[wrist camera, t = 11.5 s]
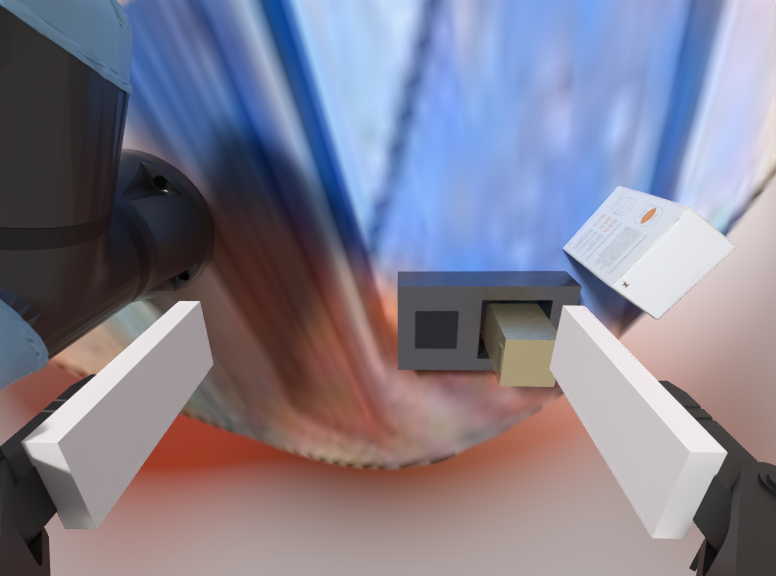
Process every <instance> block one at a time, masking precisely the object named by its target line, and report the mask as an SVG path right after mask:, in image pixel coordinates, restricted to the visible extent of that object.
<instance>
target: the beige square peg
mask: <svg viewBox="0 0 776 576" xmlns="http://www.w3.org/2000/svg"><path fill="white" fill-rule="evenodd" d="M480 333H481V336H482V339H483V341H484V344H485V347H486V350H487V353H488V355H489V358H490V361H491V364H492V367H493V370H494V372H495V375H496V378H497V381H498V384H499V386H528V387H554V385H555V380H556V379H555V377H554V375H553V374H552V372H551V370H550V369H549V368H550V363H551V359H552V354H553V349H554V345H555V340H556V336H557V330H556V329H555V327H554V326H553V324H552V323H551V322H550V320H549V319H548V317H547V316H546V315H545V313H544V312H543V310H542V309H541V308H540V306H539V305H538V303H537V302H536V301H535V300H483V308H482V317H481V326H480Z"/></svg>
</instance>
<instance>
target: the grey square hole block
mask: <svg viewBox="0 0 776 576" xmlns="http://www.w3.org/2000/svg"><path fill="white" fill-rule="evenodd" d="M580 291H581V285H580V284H579V283H577V282H576V281H575V280H574V279H573V278H572V277H571V276H570V275H569V274H568V273H567V272H566V271H503V272H398V370H493V367H492V364H491V361H490V358H489V355H488V353H487V350H486V347H485V344H484V341H483V339H479V332H480V321H481V310H482V300H538V302H537V303H538V305H539V306H540V308H541V309H542V310H543V312H544V313H545V315H546V316H547V317H548V319H549V320H550V322H551V323H552V324H553V326H554V327H555V329H556V330H557V331H558V326H559V322H560V317H561V312H562V308H563V305H564V306H578V301H579V296H580Z"/></svg>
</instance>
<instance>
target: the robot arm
mask: <svg viewBox="0 0 776 576" xmlns="http://www.w3.org/2000/svg"><path fill="white" fill-rule="evenodd" d="M132 45H133V31H132V26H131V23H130V20H129V18H128V16H127V14H126V12H125V11H124V9H123V8H122V6H121V5H120V4H119V3H118V2H117V0H0V391H1V390H3V389H4V388H6V387H8V386H9V385H11V384H12V383H14V382H16V381H18V380H20V379H22V378H23V377H25V376H27V375H29V374H30V373H34V372H37V371H39V370H40V369H42V368H43V367H44V366H45V365H46V364H47V361H49V360H50V359H51V358H53V357H54V356H56V355H57V354H59V353H60V352H61V351H63V350H64V349H66V348H67V347H69V346H70V345H71V344H73V343H74V342H76V341H77V340H79V339H80V338H81V337H83V336H84V335H86V334H87V333H89V332H90V331H91V330H93V329H94V328H96V327H97V326H99V325H100V324H101V323H103V322H104V321H106V320H107V319H109V318H110V317H111V316H113V315H114V314H116V313H117V312H119V311H120V310H121V309H123V308H124V307H125V306H127V305H128V304H130V303H131V302H136V301H141V300H146V299H151V298H156V297H161V296H165V295H168V294H171V293H174V292H176V291H178V290H180V289H182V288H183V287H185V286H186V285H187V284H189V283H190V282H191V281H193V280H194V279H195V278H196V277H197V276H198V275H199V274H200V273H201V272H202V271H203V270H204V268H205V267H206V265H207V263H208V262H209V259H210V257H211V254H212V249H213V241H214V234H213V226H212V221H211V217H210V214H209V211H208V209H207V207H206V204H205V202H204V201H203V199H202V197H201V195H200V194H199V192H198V191H197V190H196V188H195V187H194V186H193V184H192V183H191V182H190V181H189V180H188V179H187V178H186V177H185V176H184V175H183V174H182V173H181V172H180V171H178V170H177V169H176V168H174V167H173V166H172V165H170V164H169V163H167V162H165V161H164V160H162V159H160V158H158V157H156V156H153V155H151V154H148V153H145V152H141V151H137V150H131V149H122V142H123V135H124V128H125V121H126V114H127V107H128V100H129V95H132V94H133V87H132V85H131V84H130V71H131V58H132ZM212 366H213V359H212V354H211V350H210V345H209V340H208V336H207V331H206V326H205V322H204V317H203V312H202V308H201V303H200V301H179V302H177V303H176V304H175V305H174V306H173V307H172V308H171V309H170V310H168V311H167V312H166V313H165V314H164V315H163V316H162V317H161V318H159V319H158V320H157V321H156V322H155V323H154V324H153V325H152V326H151V327H149V328H148V329H147V330H146V331H145V332H144V333H143V334H142V335H140V336H139V337H138V338H137V339H136V340H135V341H134V342H133V343H131V344H130V345H129V346H128V347H127V348H126V349H125V350H124V351H123V352H121V353H120V354H119V355H118V356H117V357H116V358H115V359H114V360H112V361H111V362H110V363H109V364H108V365H107V366H106V367H105V368H103V369H102V370H101V371H100V372H99V373H98V374H91V375H90V376H88V377H86V378H84V379H82V380H81V381H79V382H77V383H75V384H73V385H72V386H70V387H69V388H68V389H67V390H66V391H65V392H63V393H62V394H61V395H60V396H59V397H58V398H57V399H56V401H53V402H52V403H51V404H50V405H48V406H47V407H46V408H45V409H44V411H43V412H41V413H39V414H38V415H37V416H35V417H34V418H33V419H32V420H31V421H30V422H28V423H27V424H26V425H25V426H24V427H23V428H21V429H20V430H19V431H18V432H17V433H16V434H14V436H12V437H11V438H10V439H9V440H7V441H6V442H5V443H4V444H3V445H2V446H0V576H50V556H49V555H50V553H49V536H48V534H47V532H46V530H45V528H44V526H45V525H46V524H47V523H48V521H49V520H50V519H51V518H52V517H53V515H54V514H55V513H56V512H57V514H58V516H59V518H60V520H61V522H62V524H63V526H64V528H65V529H98V527H99V526H100V524H101V523H102V522H103V520H104V519H105V517H106V516H107V514H108V513H109V511H110V510H111V509H112V507H113V506H114V504H115V503H116V502H117V500H118V499H119V497H120V496H121V494H122V493H123V492H124V490H125V489H126V488H127V486H128V485H129V483H130V482H131V481H132V479H133V478H134V476H135V474H136V473H137V472H138V470H139V469H140V468H141V466H142V465H143V464H144V462H145V461H146V459H147V458H148V456H149V455H150V454H151V452H152V451H153V449H154V448H155V447H156V445H157V444H158V442H159V441H160V439H161V438H162V436H163V435H164V434H165V432H166V431H167V430H168V428H169V427H170V425H171V424H172V422H173V421H174V420H175V418H176V417H177V415H178V414H179V413H180V411H181V410H182V408H183V407H184V405H185V404H186V403H187V401H188V400H189V398H190V397H191V396H192V394H193V393H194V391H195V390H196V388H197V387H198V386H199V384H200V383H201V381H202V380H203V379H204V377H205V376H206V374H207V373H208V371H209V370H210V369H211V367H212ZM549 369H550V370H551V372H552V374H553V375H554V377H555V379H556V380H557V382H558V384H559V385H560V387H561V389H562V390H563V392H564V394H565V395H566V397H567V399H568V400H569V402H570V404H571V405H572V407H573V408H574V410H575V412H576V414H577V415H578V417H579V418H580V420H581V422H582V424H583V425H584V427H585V428H586V430H587V432H588V433H589V435H590V437H591V438H592V440H593V442H594V443H595V445H596V447H597V448H598V450H599V452H600V453H601V455H602V457H603V458H604V460H605V461H606V463H607V465H608V467H609V468H610V470H611V472H612V473H613V475H614V476H615V478H616V480H617V482H618V483H619V485H620V486H621V488H622V490H623V491H624V493H625V495H626V496H627V498H628V500H629V501H630V503H631V505H632V506H633V508H634V509H635V511H636V513H637V515H638V516H639V518H640V520H641V521H642V523H643V525H644V526H645V528H646V529H647V531H648V533H649V535H650V536H651V538H654V539H659V538H660V539H685V537H686V535H687V533H688V531H689V529H690V527H691V525H692V523H693V521H694V523H695V524H696V525H697V527H698V528H699V529H700V531H701V532H702V534H703V535H704V536H705V539H704V541H703V543H702V545H701V547H700V549H699V551H698V553H697V554H696V556H695V558H694V560H693V562H692V564H691V566H690V569H691V570H693V571H696V569H697V574H696V576H776V466H775V465H772V464H769V463H765V462H757V460H756V459H754V458H753V456H751V454H749V453H748V452H747V451H746V450H745V449H744V448H743V447H742V446H741V445H740V444H739V443H738V442H737V441H736V440H735V439H734V438H733V437H732V436H731V435H730V434H729V433H728V432H726V430H725V429H724V428H722V427H721V426H720V425H719V424H718V423H717V422H716V421H713V420H712V417H711V416H710V415H709V414H708V413H707V412H706V411H705V410H704V409H701V407H700V405H698V403H697V402H695V400H693V399H692V398H691V397H690V396H689V395H688V394H687V393H686V392H684V391H683V390H681V389H680V388H678V387H676V386H675V385H673V384H671V383H670V382H668V381H657V380H656V379H655V378H654V377H653V376H652V375H651V374H650V373H649V372H648V370H647V369H646V368H645V367H644V366H643V365H641V363H640V362H639V361H638V360H637V359H636V358H635V357H634V356H633V355H632V354H631V353H630V352H629V351H628V350H627V349H626V348H625V347H624V346H623V345H622V344H621V343H620V342H619V341H618V340H617V339H616V338H615V337H614V336H613V335H612V334H611V333H610V332H609V331H608V329H607V328H606V327H605V326H604V325H603V324H602V323H601V322H600V321H599V320H598V319H597V318H596V317H595V316H594V315H593V314H592V313H591V312H590V311H589V310H588V309H587V308H586V307H585V306H564V305H563V308H562V312H561V317H560V322H559V326H558V331H557V336H556V340H555V345H554V349H553V354H552V359H551V363H550V368H549Z"/></svg>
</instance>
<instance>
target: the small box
mask: <svg viewBox="0 0 776 576" xmlns="http://www.w3.org/2000/svg"><path fill="white" fill-rule="evenodd" d="M735 248H736V246H735V245H734V244H733V243H732V242H731V241H730V240H728V239H727V238H726V237H725V236H724V235H723V234H721V233H720V232H719V231H718V230H717V229H716V228H714V227H713V226H712V225H711V224H710V223H708V222H707V221H706V220H705V219H704V218H703V217H701V216H700V215H699V214H698V213H697V212H695V211H694V210H693V209H692V208H691V207H689V206H686V205H682V204H679V203H676V202H672V201H669V200H666V199H663V198H659V197H656V196H653V195H650V194H646V193H643V192H639V191H636V190H633V189H629V188H626V187H623V186H618V187H617V188H616V189H615V190H614V191H613V192H612V194H611V195H610V196H609V197H608V198H607V199H606V200H605V201H604V202H603V204H602V205H601V206H600V207H599V208H598V209H597V210H596V211H595V213H594V214H593V215H592V216H591V217H590V218H589V219H588V220H587V221H586V223H585V224H584V225H583V226H582V227H581V228H580V229H579V230H578V232H577V233H576V234H575V235H574V236H573V237H572V238H571V239H570V241H569V242H568V243H567V244H566V245H565V246H564V247H563V250H564V251H565V252H567V253H568V254H569V255H571V256H572V257H573V258H574V259H576V260H577V261H578V262H579V263H581V264H582V265H583V266H584V267H586V268H587V269H588V270H589V271H590V272H592V273H593V274H594V275H595V276H597V277H598V278H599V279H600V280H602V281H603V282H604V283H605V284H607V285H608V286H609V287H611V288H612V289H613V290H615V291H616V292H617V293H619V294H620V295H622V296H623V297H624V298H626V299H627V300H629V301H630V302H631V303H633V304H634V305H636V306H637V307H639V308H640V309H641V310H643V311H644V312H646V313H647V314H649V315H650V316H652V317H653V318H655V319H659V318H660V317H661V316H662V315H663V314H664V313H665V312H667V311H668V310H669V309H670V308H671V307H672V306H673V305H674V304H675V303H676V302H677V301H678V300H680V299H681V298H682V297H683V296H684V295H685V294H686V293H687V292H688V291H689V290H690V289H691V288H693V287H694V286H695V285H696V284H697V283H698V282H699V281H700V280H701V279H702V278H703V277H704V276H706V274H708V273H709V272H710V271H711V270H712V269H713V268H714V267H715V266H717V264H719V263H720V262H721V261H722V260H723V259H724V258H725V257H726V256H727V255H728V254H730V253H731V252H732V251H733V250H734V249H735Z"/></svg>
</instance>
